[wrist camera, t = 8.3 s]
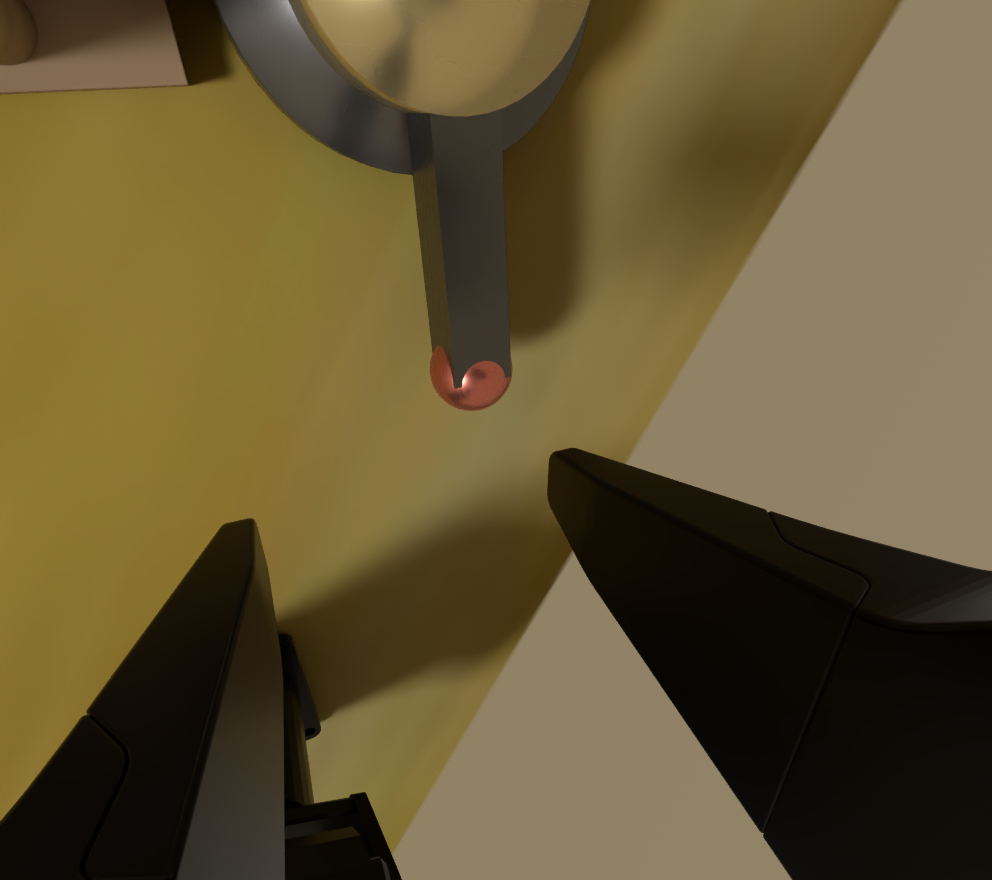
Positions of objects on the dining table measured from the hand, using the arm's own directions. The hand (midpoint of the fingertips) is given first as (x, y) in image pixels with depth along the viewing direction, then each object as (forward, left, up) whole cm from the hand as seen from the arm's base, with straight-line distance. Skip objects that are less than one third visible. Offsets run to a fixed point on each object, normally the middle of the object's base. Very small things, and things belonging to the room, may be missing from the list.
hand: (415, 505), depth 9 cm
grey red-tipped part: (+4, -4, -10) cm, 12 cm away
